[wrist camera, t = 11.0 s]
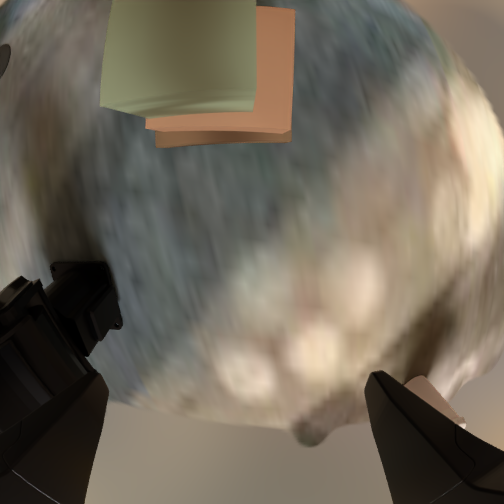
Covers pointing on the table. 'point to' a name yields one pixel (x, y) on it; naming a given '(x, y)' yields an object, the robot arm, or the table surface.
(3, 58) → the sundae
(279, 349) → the table surface
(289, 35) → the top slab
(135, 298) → the table surface
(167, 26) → the cube
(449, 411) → the smoothie
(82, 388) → the robot arm
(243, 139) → the bottom slab
